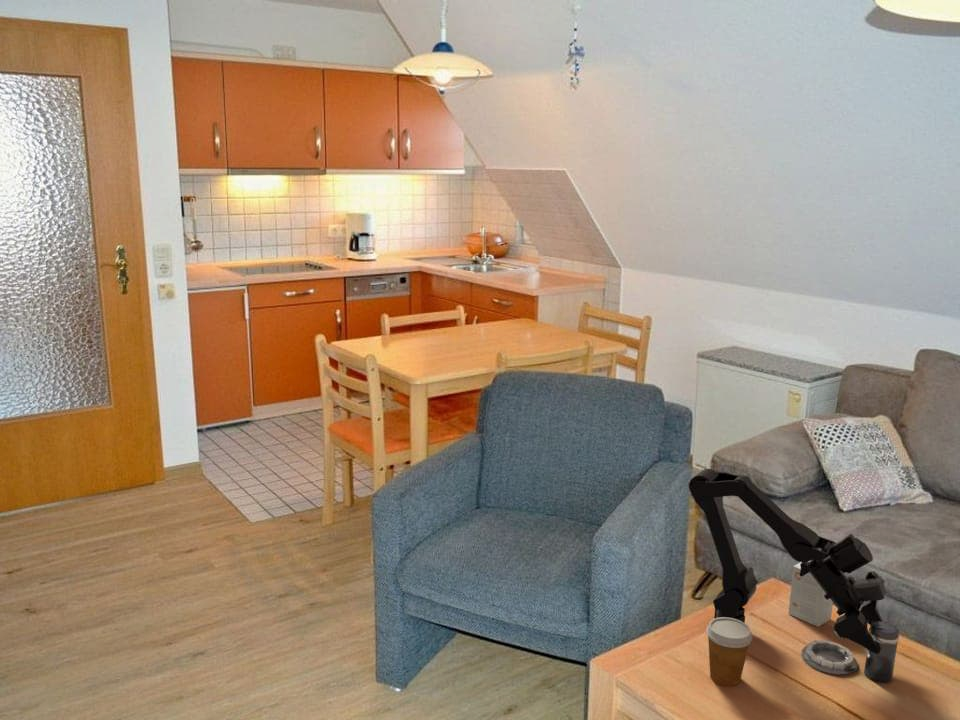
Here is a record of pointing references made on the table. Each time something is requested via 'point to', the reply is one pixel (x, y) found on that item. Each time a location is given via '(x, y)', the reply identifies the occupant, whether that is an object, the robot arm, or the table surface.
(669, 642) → the table surface
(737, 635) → the disposable coffee cup
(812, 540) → the robot arm
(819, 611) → the small box
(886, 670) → the lens
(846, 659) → the mount ring
